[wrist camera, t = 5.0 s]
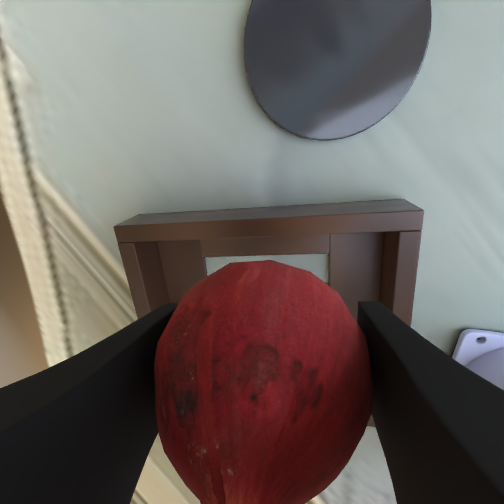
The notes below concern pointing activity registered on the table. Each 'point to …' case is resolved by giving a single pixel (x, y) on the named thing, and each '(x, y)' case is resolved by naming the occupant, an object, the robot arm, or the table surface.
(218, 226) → the tray
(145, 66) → the table surface
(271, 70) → the coaster
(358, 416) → the onion
